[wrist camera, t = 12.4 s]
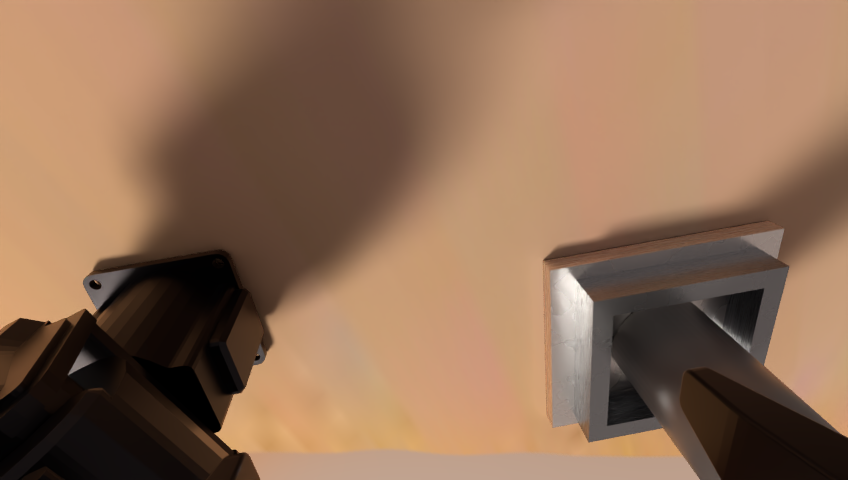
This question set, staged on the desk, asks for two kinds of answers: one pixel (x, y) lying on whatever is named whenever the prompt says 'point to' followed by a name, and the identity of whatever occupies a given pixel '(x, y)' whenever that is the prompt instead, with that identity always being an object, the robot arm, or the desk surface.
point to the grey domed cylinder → (684, 349)
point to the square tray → (641, 290)
